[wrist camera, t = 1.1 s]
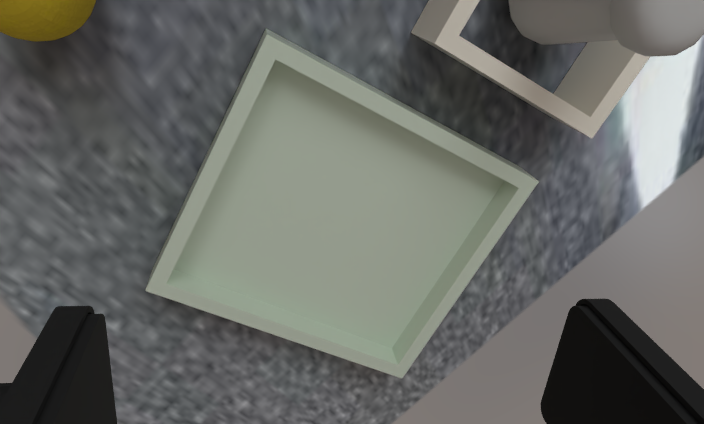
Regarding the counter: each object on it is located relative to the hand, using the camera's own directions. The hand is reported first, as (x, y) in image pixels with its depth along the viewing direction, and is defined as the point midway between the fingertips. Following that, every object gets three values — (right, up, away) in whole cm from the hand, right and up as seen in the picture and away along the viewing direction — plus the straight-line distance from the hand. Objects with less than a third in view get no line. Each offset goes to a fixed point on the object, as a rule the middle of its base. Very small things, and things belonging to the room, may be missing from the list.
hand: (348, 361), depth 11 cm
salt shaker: (+12, +17, +23) cm, 31 cm away
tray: (-1, +3, +27) cm, 28 cm away
